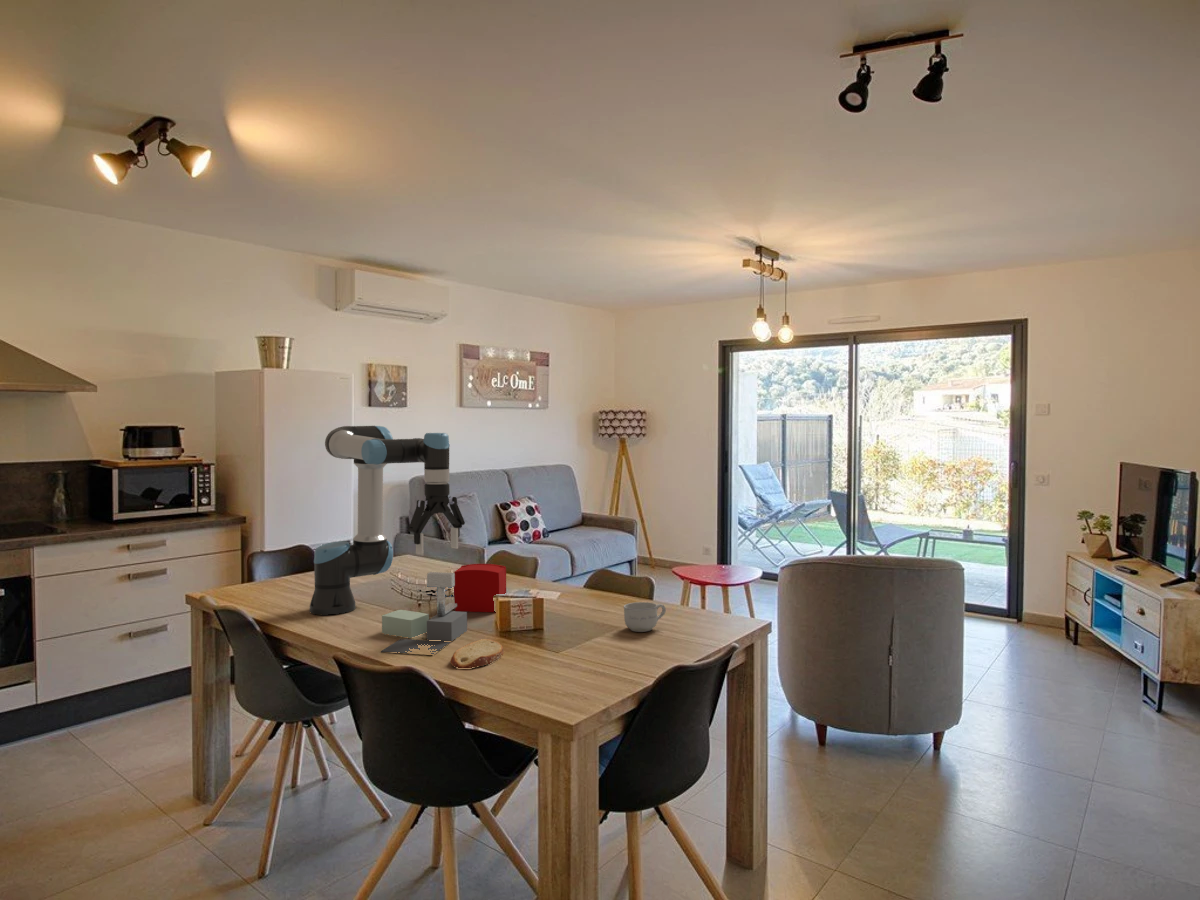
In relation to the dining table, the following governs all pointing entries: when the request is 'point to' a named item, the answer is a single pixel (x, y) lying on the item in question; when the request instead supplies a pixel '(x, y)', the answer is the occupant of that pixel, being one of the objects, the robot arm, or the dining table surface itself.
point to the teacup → (642, 615)
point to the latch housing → (447, 626)
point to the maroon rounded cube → (478, 586)
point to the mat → (413, 645)
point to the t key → (441, 589)
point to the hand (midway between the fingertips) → (437, 551)
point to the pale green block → (404, 623)
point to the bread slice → (477, 654)
